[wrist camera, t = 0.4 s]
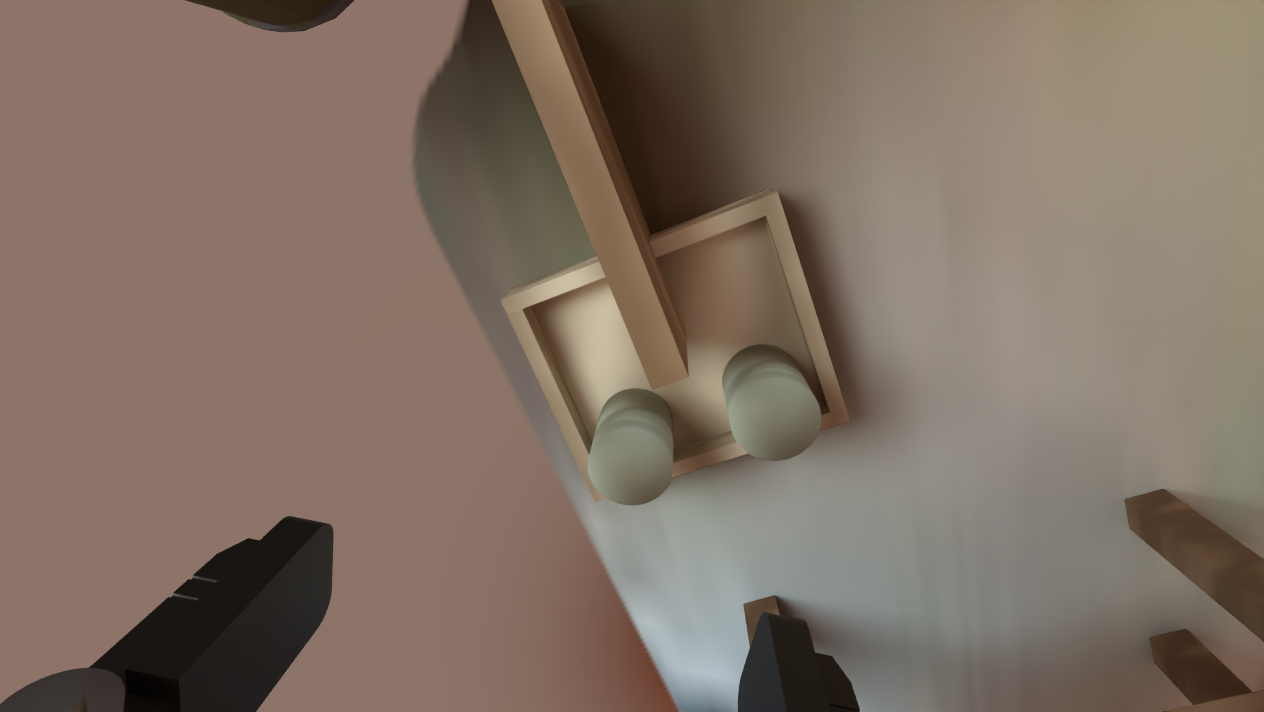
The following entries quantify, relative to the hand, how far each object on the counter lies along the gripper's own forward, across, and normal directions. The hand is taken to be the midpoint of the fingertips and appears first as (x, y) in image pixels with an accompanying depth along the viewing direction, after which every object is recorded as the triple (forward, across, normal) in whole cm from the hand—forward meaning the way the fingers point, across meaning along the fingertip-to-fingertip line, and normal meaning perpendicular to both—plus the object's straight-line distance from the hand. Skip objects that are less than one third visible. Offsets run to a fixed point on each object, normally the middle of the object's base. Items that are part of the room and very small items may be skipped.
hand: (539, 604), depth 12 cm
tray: (+23, 0, -3) cm, 23 cm away
